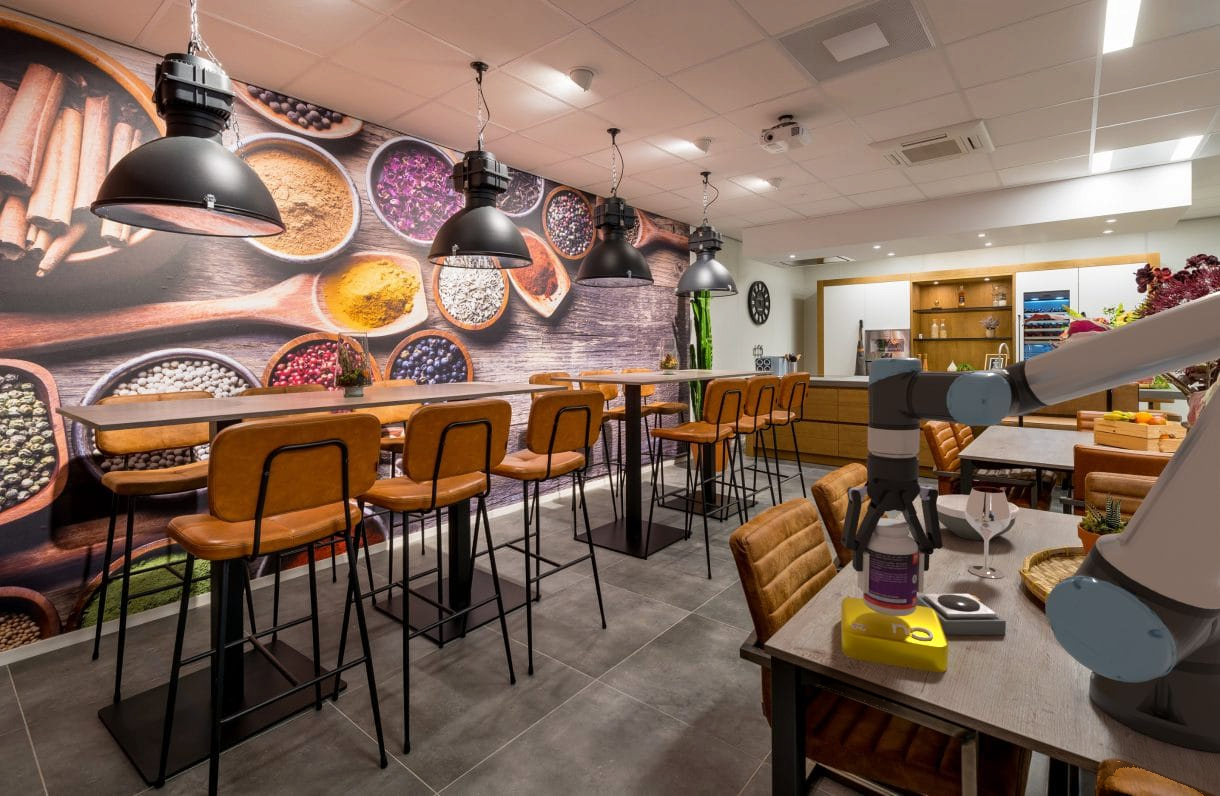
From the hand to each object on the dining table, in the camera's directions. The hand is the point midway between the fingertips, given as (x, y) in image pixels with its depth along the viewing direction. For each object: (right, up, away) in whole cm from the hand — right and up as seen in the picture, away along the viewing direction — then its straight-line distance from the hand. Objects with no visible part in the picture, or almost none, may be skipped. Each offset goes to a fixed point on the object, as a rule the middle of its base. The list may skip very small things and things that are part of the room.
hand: (889, 589), depth 95 cm
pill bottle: (0, -3, 0) cm, 3 cm away
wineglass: (+34, -6, +28) cm, 45 cm away
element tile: (0, -10, 0) cm, 10 cm away
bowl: (+47, -4, +53) cm, 71 cm away
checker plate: (+15, -7, +7) cm, 18 cm away
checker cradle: (+15, -8, +7) cm, 19 cm away
